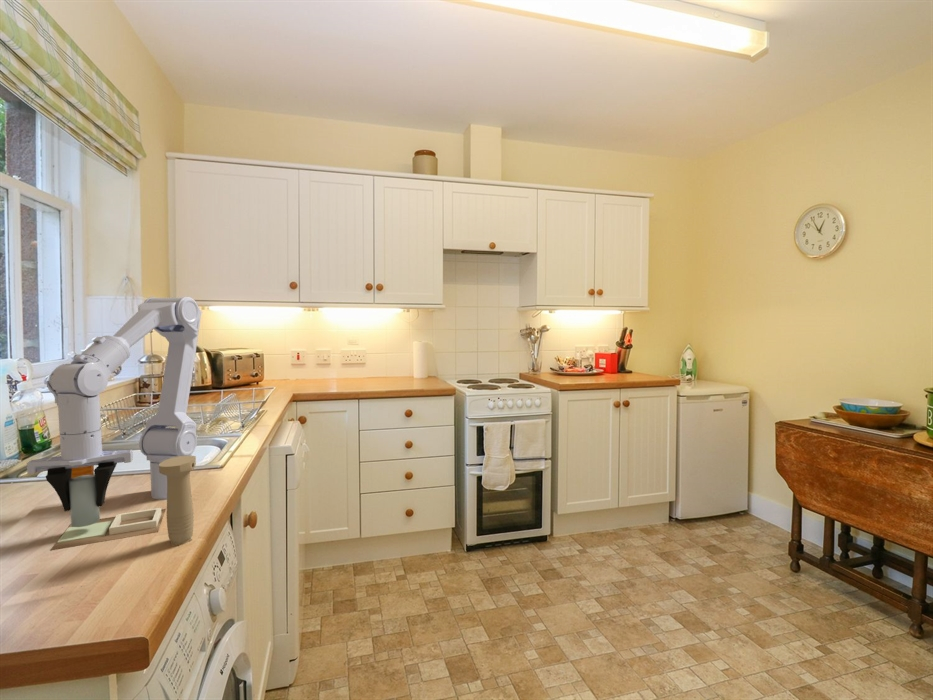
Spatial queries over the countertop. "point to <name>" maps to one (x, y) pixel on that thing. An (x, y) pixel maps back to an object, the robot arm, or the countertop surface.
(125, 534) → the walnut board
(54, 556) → the countertop surface
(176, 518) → the handle
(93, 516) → the grey-blue cylinder
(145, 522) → the cream square frame
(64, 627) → the countertop surface
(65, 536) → the pad
